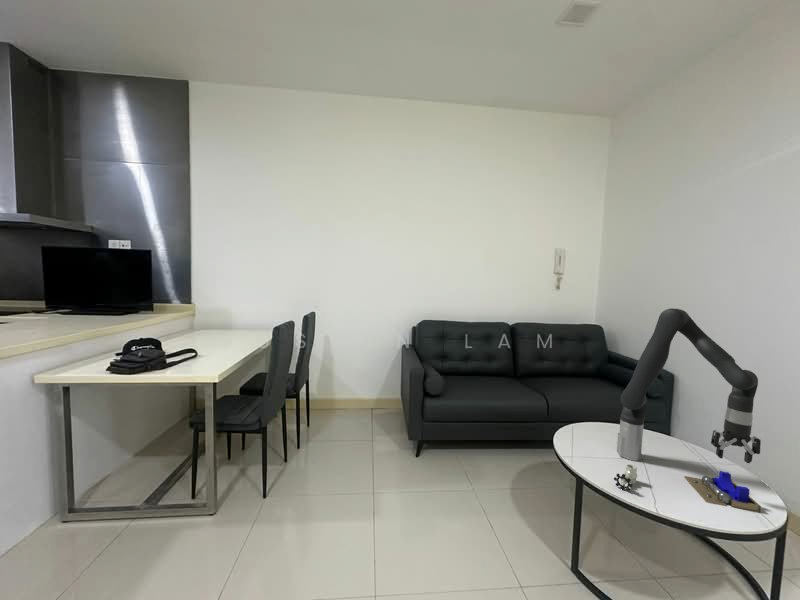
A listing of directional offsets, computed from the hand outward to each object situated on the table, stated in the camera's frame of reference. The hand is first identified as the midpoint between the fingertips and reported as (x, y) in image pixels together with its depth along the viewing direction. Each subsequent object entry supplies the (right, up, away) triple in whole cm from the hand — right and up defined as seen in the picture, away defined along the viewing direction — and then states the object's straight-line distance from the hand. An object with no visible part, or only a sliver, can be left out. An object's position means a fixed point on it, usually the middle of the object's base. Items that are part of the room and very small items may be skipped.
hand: (733, 459), depth 132 cm
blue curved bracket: (0, -14, +1) cm, 15 cm away
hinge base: (-4, -15, +2) cm, 15 cm away
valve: (-38, -14, +6) cm, 41 cm away
